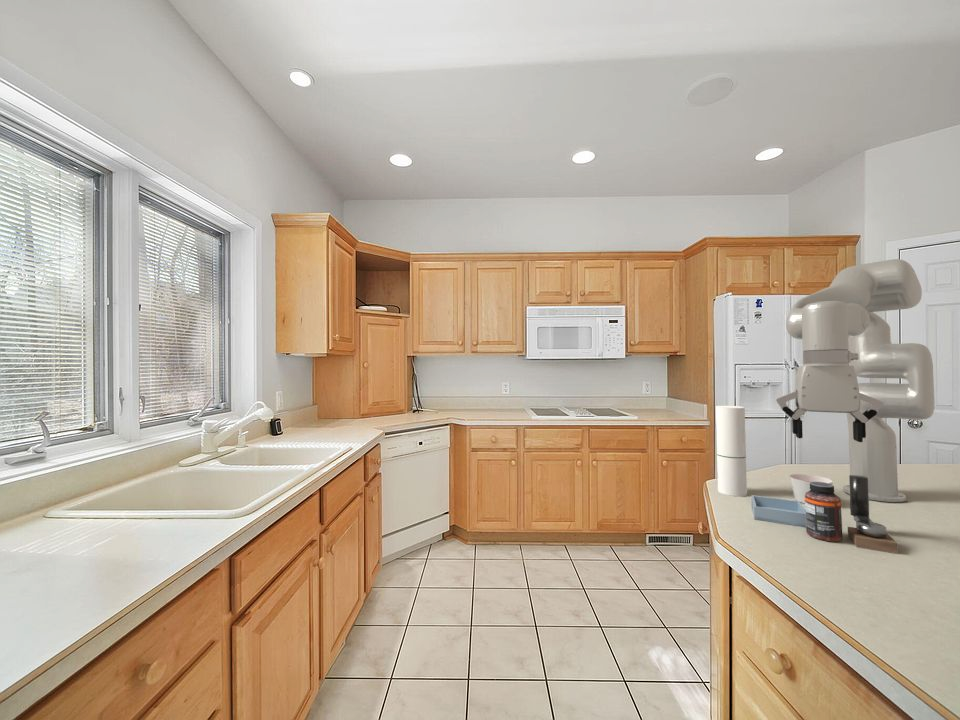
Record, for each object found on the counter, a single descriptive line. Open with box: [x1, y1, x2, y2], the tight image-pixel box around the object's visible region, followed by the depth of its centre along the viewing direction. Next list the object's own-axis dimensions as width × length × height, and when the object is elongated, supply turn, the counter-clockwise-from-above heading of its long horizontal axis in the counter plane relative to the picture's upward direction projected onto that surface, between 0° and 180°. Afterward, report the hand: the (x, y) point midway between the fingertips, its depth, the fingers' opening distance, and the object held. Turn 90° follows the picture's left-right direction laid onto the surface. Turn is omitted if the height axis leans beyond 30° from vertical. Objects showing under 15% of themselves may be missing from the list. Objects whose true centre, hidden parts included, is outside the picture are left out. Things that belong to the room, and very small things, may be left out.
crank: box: [848, 474, 888, 537], centre depth 84 cm, size 11×4×10 cm, turn 149°
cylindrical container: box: [715, 405, 748, 497], centre depth 115 cm, size 7×7×25 cm
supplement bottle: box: [804, 482, 843, 543], centre depth 85 cm, size 6×6×11 cm
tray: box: [750, 494, 806, 528], centre depth 97 cm, size 10×10×3 cm
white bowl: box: [788, 473, 834, 505], centre depth 106 cm, size 9×9×6 cm
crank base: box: [847, 526, 899, 555], centre depth 81 cm, size 6×6×2 cm
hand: (827, 439), depth 84 cm, fingers open, 9 cm apart
